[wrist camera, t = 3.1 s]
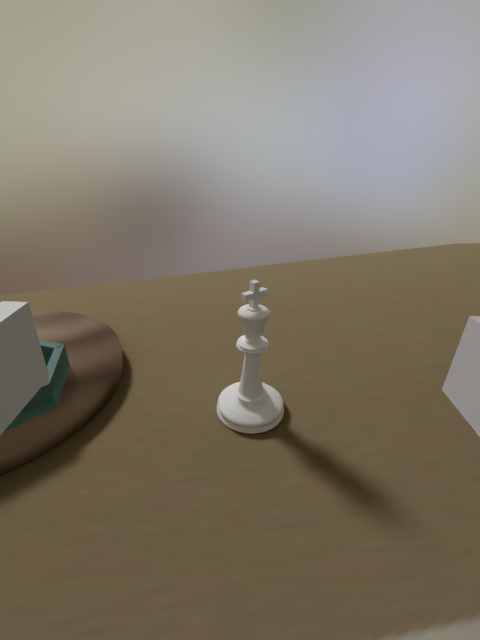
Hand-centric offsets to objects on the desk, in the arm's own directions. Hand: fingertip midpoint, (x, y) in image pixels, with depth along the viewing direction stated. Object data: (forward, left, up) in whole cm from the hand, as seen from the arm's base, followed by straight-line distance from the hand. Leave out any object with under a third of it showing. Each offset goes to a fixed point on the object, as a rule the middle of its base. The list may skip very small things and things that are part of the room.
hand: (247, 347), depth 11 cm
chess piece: (+7, -8, -12) cm, 16 cm away
